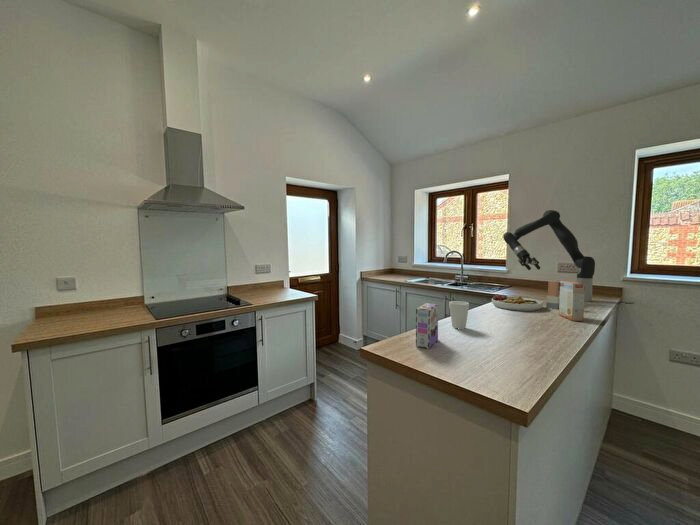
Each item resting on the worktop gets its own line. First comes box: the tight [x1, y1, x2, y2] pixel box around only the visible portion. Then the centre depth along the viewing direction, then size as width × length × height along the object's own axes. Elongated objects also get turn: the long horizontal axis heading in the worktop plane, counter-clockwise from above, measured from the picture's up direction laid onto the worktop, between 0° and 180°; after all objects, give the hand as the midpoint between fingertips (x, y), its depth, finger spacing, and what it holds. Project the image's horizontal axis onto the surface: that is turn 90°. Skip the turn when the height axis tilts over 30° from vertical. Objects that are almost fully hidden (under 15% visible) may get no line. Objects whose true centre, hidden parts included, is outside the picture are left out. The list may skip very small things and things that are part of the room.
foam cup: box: [448, 300, 470, 330], centre depth 147 cm, size 10×9×13 cm
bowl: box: [491, 293, 544, 312], centre depth 195 cm, size 30×30×8 cm
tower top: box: [546, 295, 560, 303], centre depth 191 cm, size 6×6×4 cm
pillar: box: [547, 280, 560, 297], centre depth 190 cm, size 4×4×10 cm
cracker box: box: [558, 280, 585, 322], centre depth 163 cm, size 14×6×21 cm, turn 168°
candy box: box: [415, 302, 439, 350], centre depth 124 cm, size 14×6×16 cm, turn 148°
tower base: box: [545, 301, 560, 310], centre depth 191 cm, size 6×6×4 cm
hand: (534, 269), depth 205 cm, fingers open, 8 cm apart
